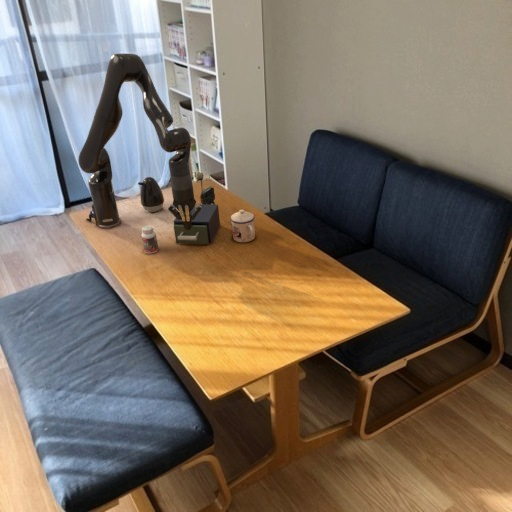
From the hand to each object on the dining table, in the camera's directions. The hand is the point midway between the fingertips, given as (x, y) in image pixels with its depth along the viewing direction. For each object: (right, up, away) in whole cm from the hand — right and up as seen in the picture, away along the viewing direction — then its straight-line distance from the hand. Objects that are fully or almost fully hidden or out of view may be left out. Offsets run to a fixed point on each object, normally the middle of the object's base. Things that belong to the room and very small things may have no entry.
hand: (188, 229), depth 190 cm
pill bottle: (-15, -8, +5) cm, 17 cm away
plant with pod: (+4, +8, +31) cm, 32 cm away
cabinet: (+2, -1, +15) cm, 15 cm away
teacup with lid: (+21, -3, +9) cm, 23 cm away
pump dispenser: (-20, +11, +38) cm, 44 cm away
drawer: (+1, -3, +10) cm, 10 cm away
